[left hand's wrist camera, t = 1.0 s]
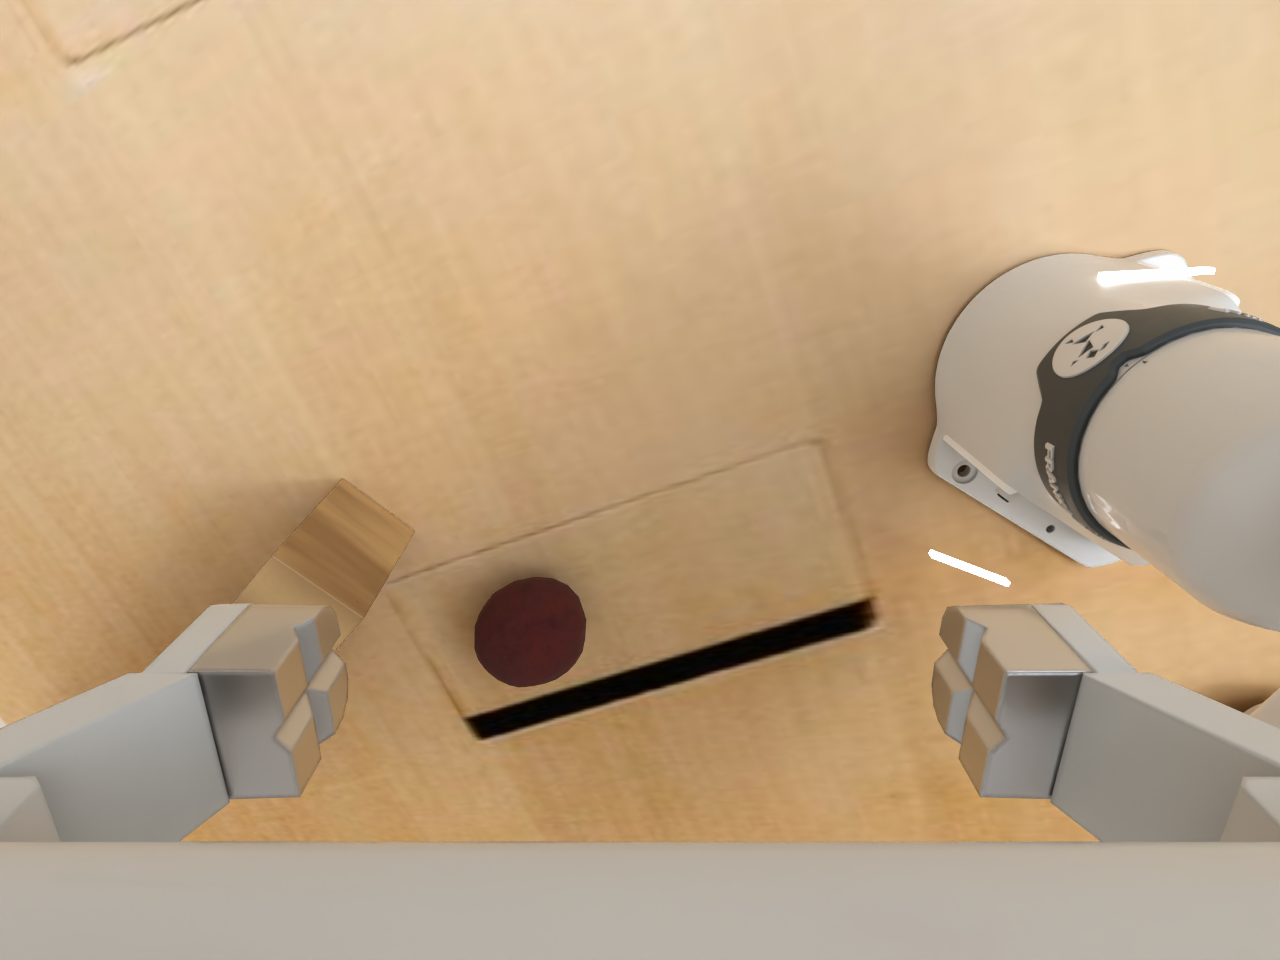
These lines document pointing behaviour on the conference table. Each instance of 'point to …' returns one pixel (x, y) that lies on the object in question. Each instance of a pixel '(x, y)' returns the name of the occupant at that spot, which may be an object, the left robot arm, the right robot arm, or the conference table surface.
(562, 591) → the dark red ball
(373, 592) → the box
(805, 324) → the conference table surface
